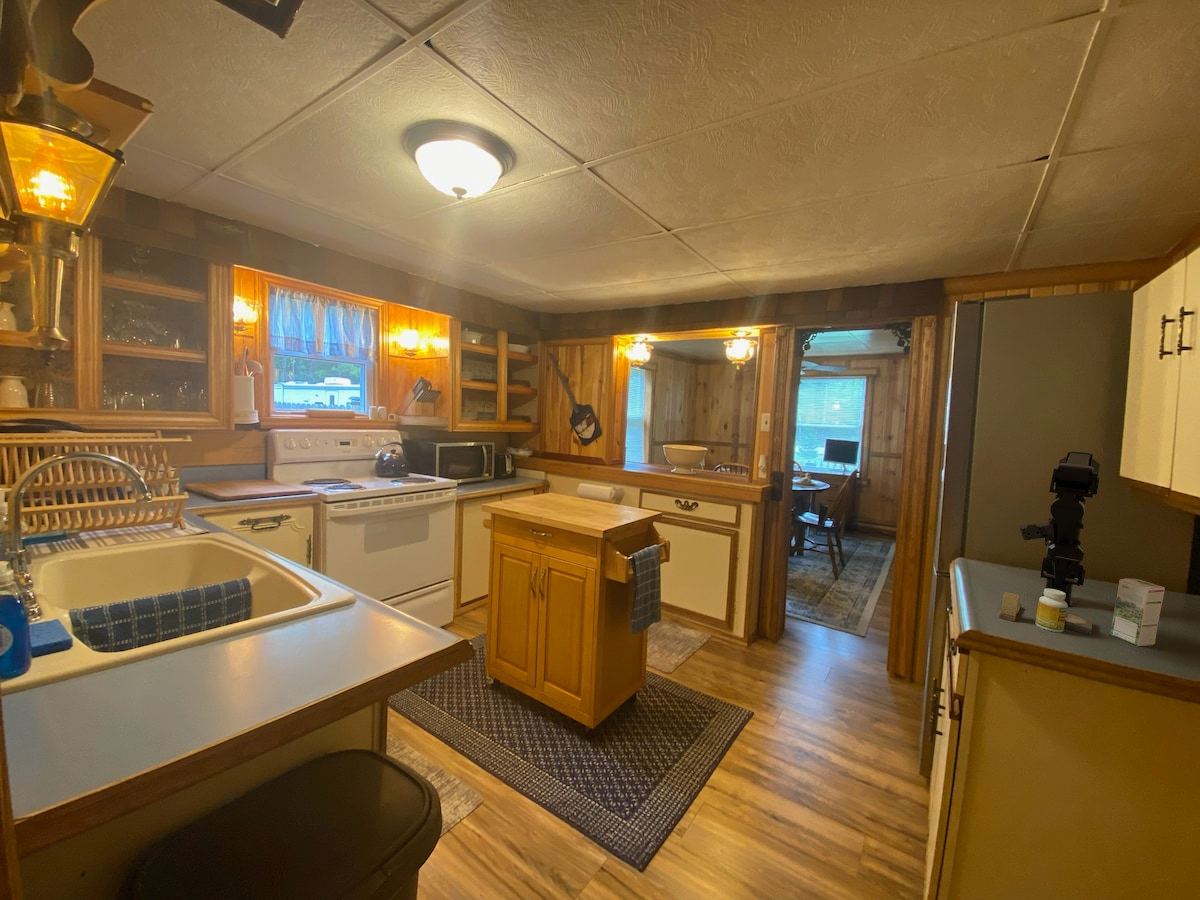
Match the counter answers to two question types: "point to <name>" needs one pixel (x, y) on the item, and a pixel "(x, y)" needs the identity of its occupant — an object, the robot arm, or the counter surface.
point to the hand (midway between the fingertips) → (1057, 578)
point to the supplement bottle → (1051, 610)
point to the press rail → (1009, 615)
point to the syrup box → (1137, 611)
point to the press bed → (1078, 623)
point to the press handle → (1010, 604)
